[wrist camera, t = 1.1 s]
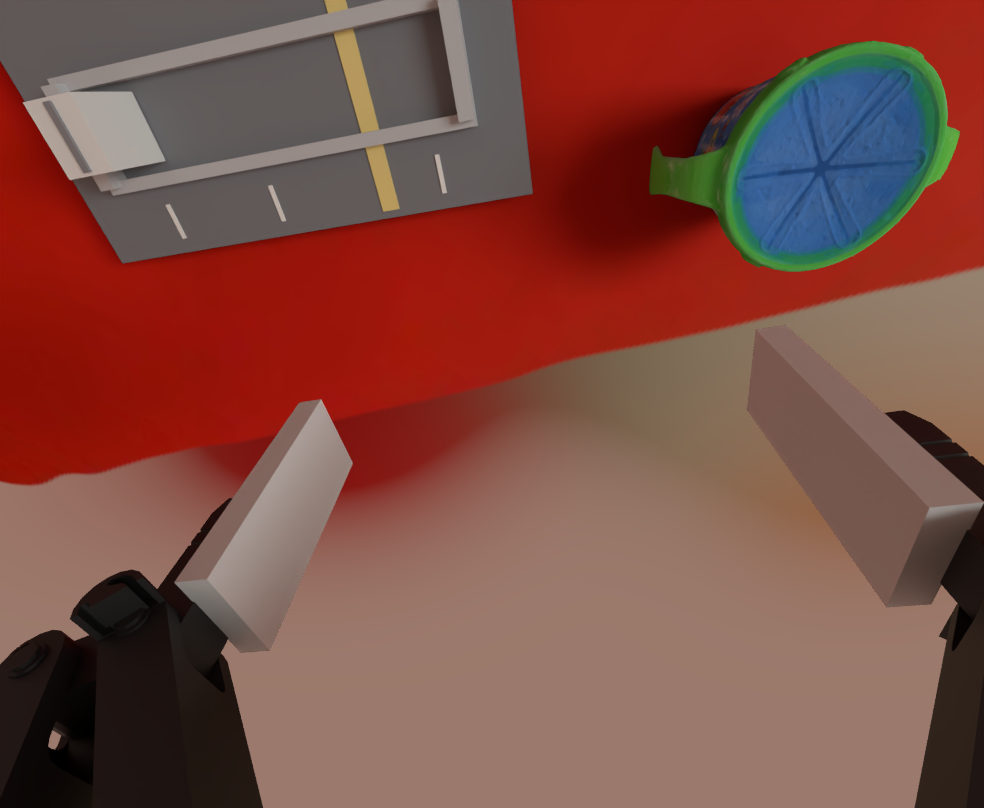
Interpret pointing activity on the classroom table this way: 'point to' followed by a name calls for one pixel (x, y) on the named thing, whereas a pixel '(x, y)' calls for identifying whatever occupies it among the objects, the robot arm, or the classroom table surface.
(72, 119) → the fader tab
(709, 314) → the classroom table surface
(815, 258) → the snack cup
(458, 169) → the panel
